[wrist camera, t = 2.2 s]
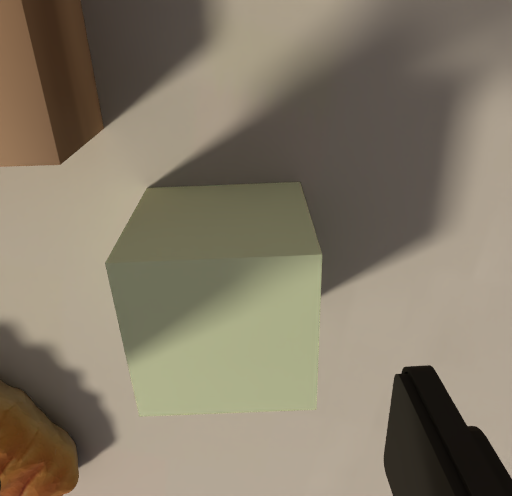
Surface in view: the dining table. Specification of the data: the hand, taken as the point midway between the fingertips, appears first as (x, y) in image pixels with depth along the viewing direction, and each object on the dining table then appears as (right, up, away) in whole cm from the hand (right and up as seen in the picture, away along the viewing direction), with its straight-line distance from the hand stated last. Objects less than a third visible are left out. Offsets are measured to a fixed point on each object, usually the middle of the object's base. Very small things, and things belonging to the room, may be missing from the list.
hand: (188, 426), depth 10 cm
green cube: (+1, +4, +6) cm, 7 cm away
